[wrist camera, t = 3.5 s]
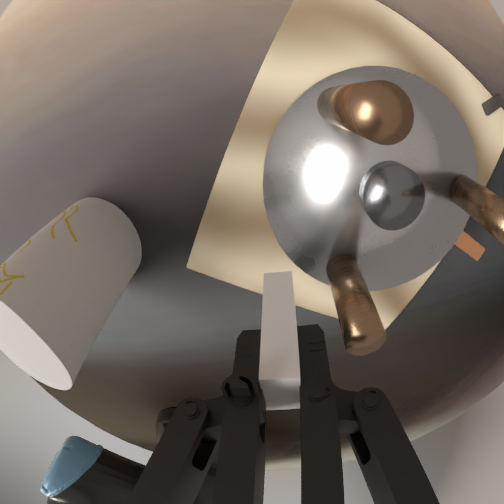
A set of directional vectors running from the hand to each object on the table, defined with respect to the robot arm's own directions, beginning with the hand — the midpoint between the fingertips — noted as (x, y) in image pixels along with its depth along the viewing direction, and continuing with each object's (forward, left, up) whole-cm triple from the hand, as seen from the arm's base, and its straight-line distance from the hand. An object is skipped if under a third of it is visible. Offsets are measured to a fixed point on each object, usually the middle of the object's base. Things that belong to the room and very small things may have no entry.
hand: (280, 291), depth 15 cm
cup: (-6, +14, -6) cm, 16 cm away
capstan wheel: (+7, -6, -4) cm, 10 cm away
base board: (+7, -3, -6) cm, 10 cm away
